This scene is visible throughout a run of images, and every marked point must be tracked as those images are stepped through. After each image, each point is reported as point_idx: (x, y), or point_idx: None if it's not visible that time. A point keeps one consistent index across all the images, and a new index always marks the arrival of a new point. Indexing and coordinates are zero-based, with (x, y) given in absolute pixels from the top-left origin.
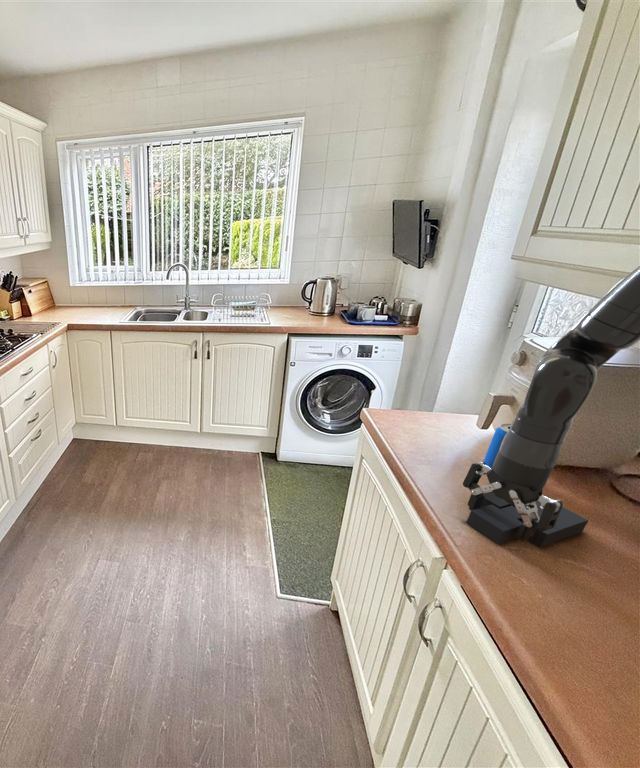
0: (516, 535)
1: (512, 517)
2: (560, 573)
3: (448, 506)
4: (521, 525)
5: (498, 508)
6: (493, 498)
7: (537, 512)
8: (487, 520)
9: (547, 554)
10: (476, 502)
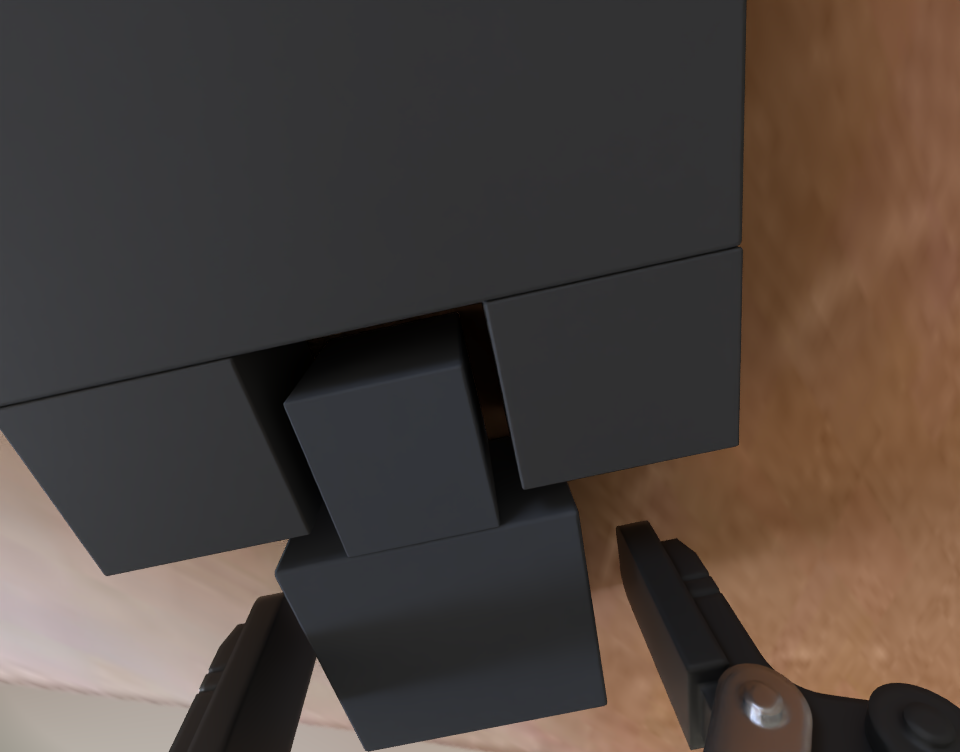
0: (634, 612)
1: (474, 544)
2: (854, 457)
3: (211, 628)
4: (686, 732)
5: (339, 568)
6: (158, 496)
7: (423, 204)
8: (485, 728)
9: None
10: (284, 734)
